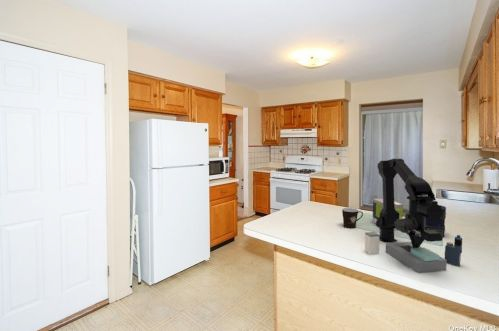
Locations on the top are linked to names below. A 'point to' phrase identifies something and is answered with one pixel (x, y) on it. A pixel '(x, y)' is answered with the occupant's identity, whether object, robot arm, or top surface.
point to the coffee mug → (350, 217)
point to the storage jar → (437, 223)
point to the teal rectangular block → (424, 254)
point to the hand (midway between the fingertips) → (415, 249)
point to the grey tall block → (372, 243)
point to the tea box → (379, 206)
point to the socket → (413, 258)
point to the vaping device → (454, 251)
